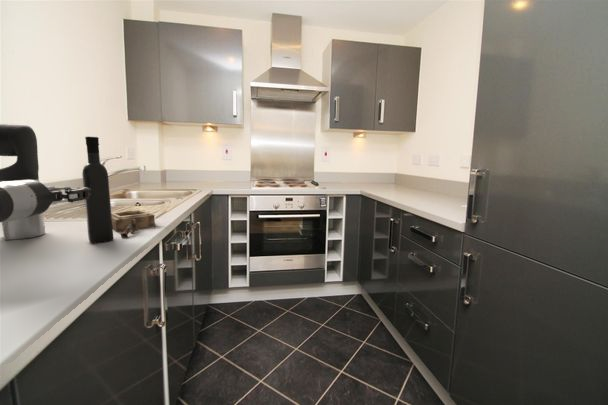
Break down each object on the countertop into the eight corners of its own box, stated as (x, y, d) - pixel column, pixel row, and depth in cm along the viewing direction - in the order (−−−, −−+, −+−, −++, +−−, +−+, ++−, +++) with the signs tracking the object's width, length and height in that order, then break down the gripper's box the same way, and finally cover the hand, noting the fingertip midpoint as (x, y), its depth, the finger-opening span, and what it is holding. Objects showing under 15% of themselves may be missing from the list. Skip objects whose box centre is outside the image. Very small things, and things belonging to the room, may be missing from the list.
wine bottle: (88, 239, 86) (78, 136, 82) (111, 236, 90) (102, 137, 85) (90, 244, 82) (79, 135, 77) (114, 241, 86) (105, 137, 81)
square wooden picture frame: (116, 231, 96) (115, 218, 95) (106, 225, 104) (105, 212, 103) (154, 226, 104) (154, 213, 104) (143, 220, 112) (142, 208, 112)
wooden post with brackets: (140, 228, 98) (136, 217, 95) (130, 244, 91) (126, 232, 89) (134, 228, 98) (131, 217, 95) (123, 244, 91) (119, 232, 88)
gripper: (52, 181, 57) (99, 176, 73) (-31, 180, 55) (36, 175, 71) (56, 219, 58) (102, 206, 74) (-25, 219, 56) (40, 206, 72)
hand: (69, 191), depth 72 cm, fingers open, 8 cm apart
